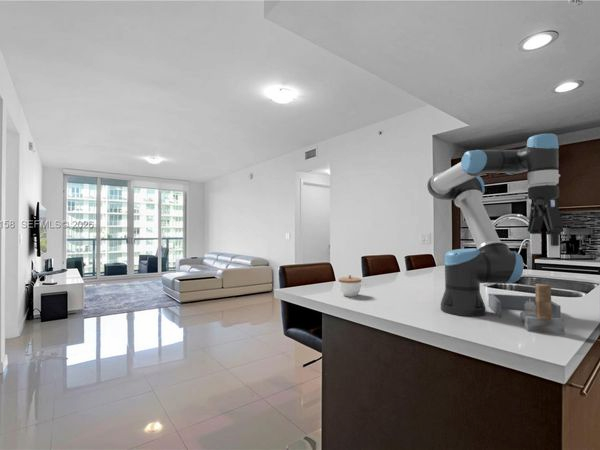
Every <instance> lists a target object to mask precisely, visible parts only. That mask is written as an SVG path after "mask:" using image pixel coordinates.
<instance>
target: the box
mask: <svg viewBox="0 0 600 450" xmlns="http://www.w3.org/2000/svg"><path fill="white" fill-rule="evenodd" d="M529 299H530V300H531V302H532V301H533V302H534V304H535V306H536V295H518V294H499V293H488V307H489V308H490V309H491V310H492V311H493V312H494V314H495V316H497V317H502V309H504V308H505V309H514V310H516V309H517V310H525V308H524V304H525V303H526V301H528V302H529ZM561 311H562V309H561V305H560V304H557V303H556V302H554V301H552V300H551V318H560V319H562V318H561V314H562V313H561Z"/></svg>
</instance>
